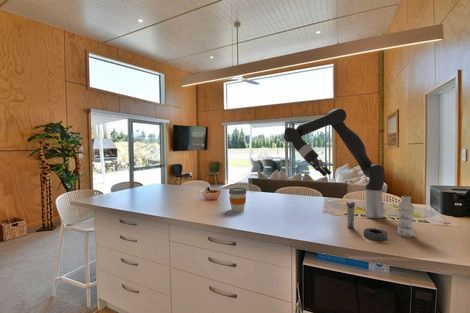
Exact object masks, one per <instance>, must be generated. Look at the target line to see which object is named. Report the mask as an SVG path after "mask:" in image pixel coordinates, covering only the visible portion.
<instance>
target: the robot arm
mask: <svg viewBox="0 0 470 313" xmlns="http://www.w3.org/2000/svg"><path fill="white" fill-rule="evenodd" d="M346 119H347V112H346V111H345V109H342V108H335V109H332V110H330V111H328V112H327V114H326V115H323V116H321V117H318V118H315V119H311V120H308V121H307V122H304V123H300V124H299V125H298V126H297V127H296V128H295V127H293V126H287V127H286V128H285V130H284V133H283V134H284V135H283V138H284V139H283V140H284V141H285V142H287V143H292V146H293V148H294V149H295V151H297V152H298V154H299V155H300V156H301V157H302V158H303V159H304V161H305V162H307V164H309V165H310V166H312V167H313V169H314V170H315V171H316V172H317V173H318V172H319V173H320V174H321V175H322V176H323V177H326V175H327V176H329V175H331V174H332V171H331V170H330V169H329V168H328V165H327V164H326V163H325V161H323V160H322V159H318V158H319V154H318V153H317V152H316V151H315V150H314V148H313V147H311V146H310V145H309V144H308V143H307V142H306V141H305V140H304V139H303V136H306V135H308V134H310V133H313V132H316V131H318V130H320V129H322V128H325V127H328V126H331V127H332V129H333V130H335V132H336V134H337V135H338V136H339V137H340V139H341V140H342V142H343V144H344V146H346V148H347V150H348V151H349V152H350V153H351V156H352V157H353V159H354V160H356V162H357V164H358V165H359V168H360V169H361V172H362V173H363V175H364V176H365V177H367V178H368V183H366V184H365V196H364V197H365V201H364V202H365V205H364V206H365V207H364V209H365V211H364V212H365V213H364V214H365V217H367V218H371V219H382V218H383V219H384V217H385V216H384V207H385V206H384V201H383V187H384V185H385V168H384V167H383V165H380V164H377V163H373V162H372V160H370V158H369V157H368V154H367V150H366V146H365V144H364V142H363V140H362V139H361V137H360V136H359V135H358V134H357V133H355V132H354V131H353V130H352V129H350V128H349V127H348V126H347V125H346V124H345V120H346Z"/></svg>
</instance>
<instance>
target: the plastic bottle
mask: <svg viewBox="0 0 470 313" xmlns="http://www.w3.org/2000/svg"><path fill="white" fill-rule="evenodd" d="M414 206H415V205H413V203H412V197H411V196H409V195H401V201H400V202H399V203H398V206H397V209H398V227H397V231H396V232H397V235H398V236H400V237H404V238H413V237H414V234H415V233H414V227H413V226H414V224H413V218H414V212H415V207H414Z"/></svg>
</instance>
